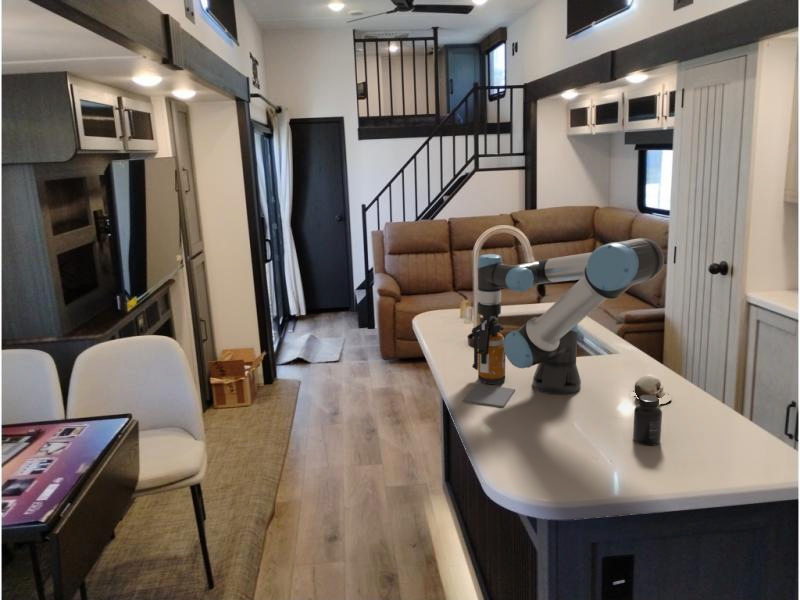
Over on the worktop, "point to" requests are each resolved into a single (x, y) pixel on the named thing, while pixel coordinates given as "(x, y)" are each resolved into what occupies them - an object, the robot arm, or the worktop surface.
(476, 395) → the mat
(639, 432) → the supplement bottle
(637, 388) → the skull
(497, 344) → the canister
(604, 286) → the robot arm
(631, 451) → the worktop surface
